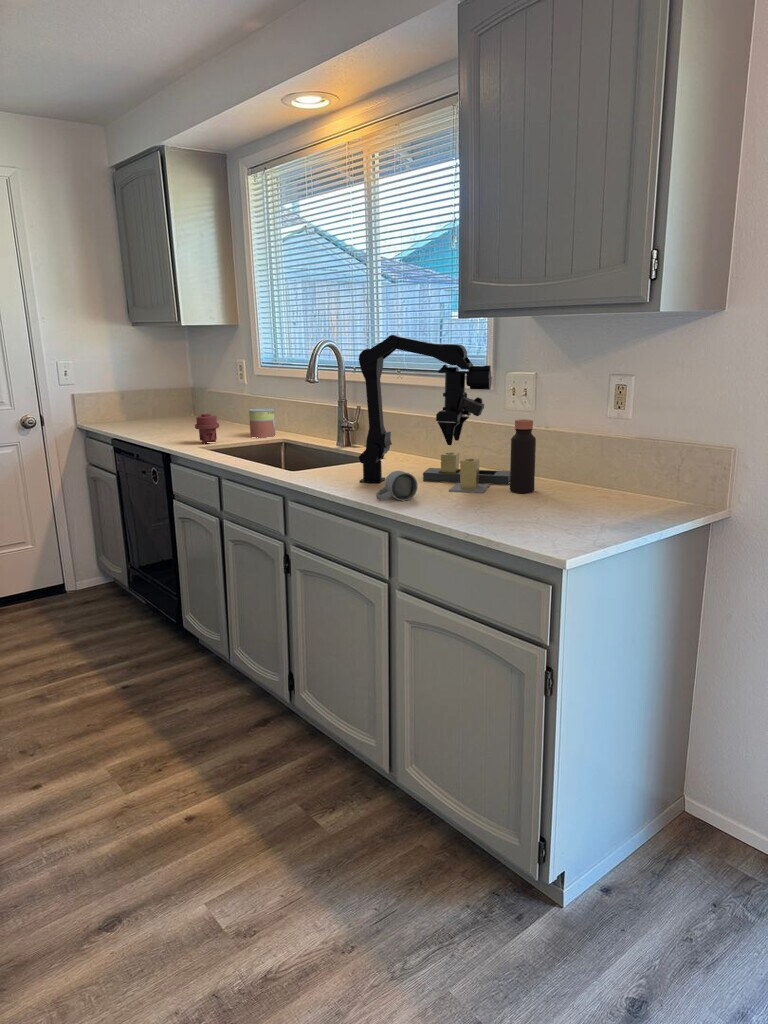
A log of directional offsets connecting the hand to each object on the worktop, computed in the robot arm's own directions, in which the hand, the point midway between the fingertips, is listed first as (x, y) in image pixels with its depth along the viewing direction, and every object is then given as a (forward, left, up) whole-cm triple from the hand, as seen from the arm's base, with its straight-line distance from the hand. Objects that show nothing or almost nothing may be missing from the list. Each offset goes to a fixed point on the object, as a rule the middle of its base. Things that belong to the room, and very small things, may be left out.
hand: (453, 442), depth 208 cm
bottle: (-5, -21, -13) cm, 25 cm away
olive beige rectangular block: (-5, -6, -12) cm, 14 cm away
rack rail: (+7, -3, -13) cm, 15 cm away
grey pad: (-5, -6, -13) cm, 14 cm away
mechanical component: (+59, +119, -13) cm, 134 cm away
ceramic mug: (-21, +11, -13) cm, 27 cm away
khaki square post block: (+7, +3, -13) cm, 15 cm away
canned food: (+82, +105, -13) cm, 134 cm away
